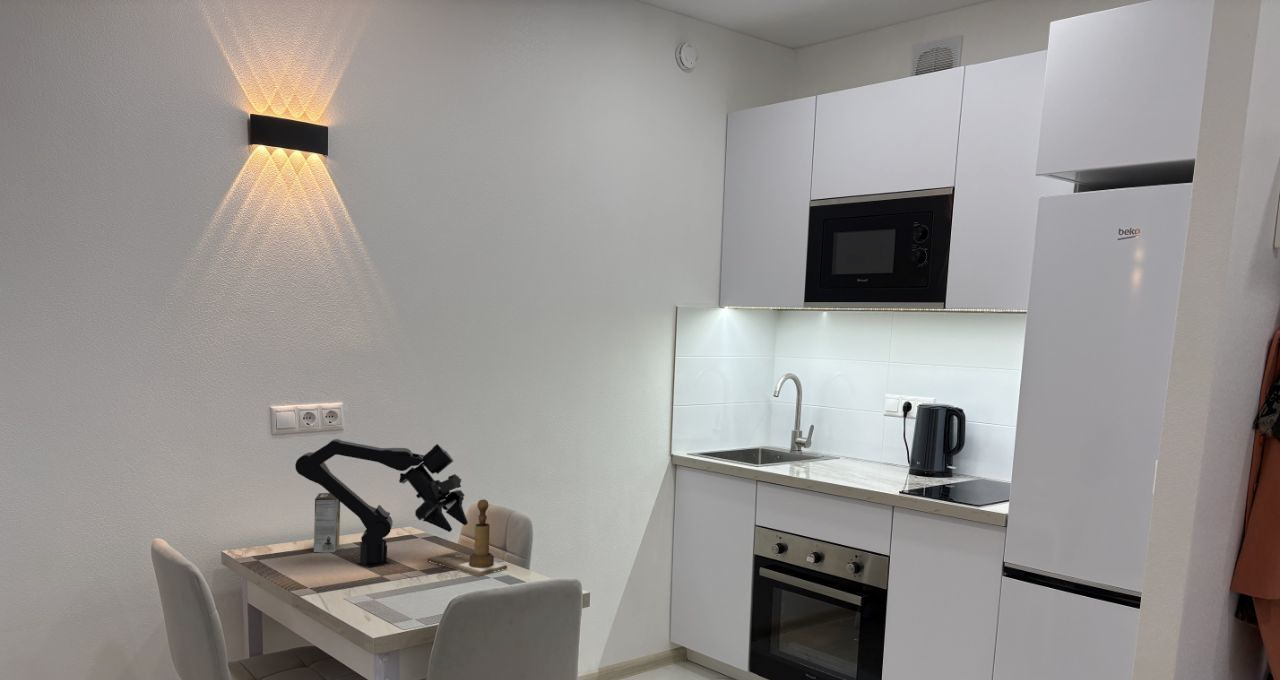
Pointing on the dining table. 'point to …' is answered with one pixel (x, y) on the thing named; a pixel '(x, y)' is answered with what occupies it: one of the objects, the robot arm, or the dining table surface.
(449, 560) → the grey brown flat rectangle
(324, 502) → the coffee box
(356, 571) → the dining table surface
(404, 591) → the dining table surface
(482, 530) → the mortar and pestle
